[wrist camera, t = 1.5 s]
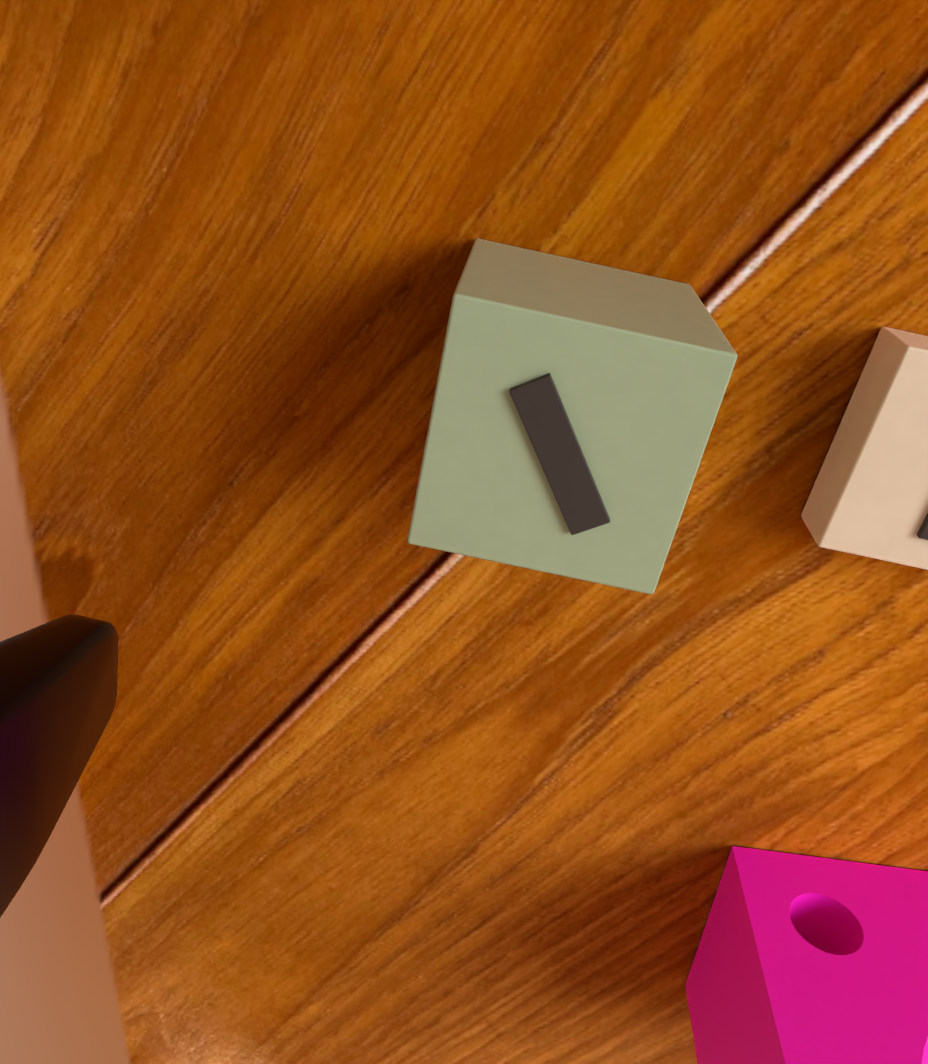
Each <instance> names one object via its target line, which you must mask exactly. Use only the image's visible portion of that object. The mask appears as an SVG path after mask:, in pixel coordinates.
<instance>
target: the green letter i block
mask: <svg viewBox="0 0 928 1064" xmlns="http://www.w3.org/2000/svg"><path fill="white" fill-rule="evenodd" d="M736 360H737V353H736V352H735V350H734V349H733V347H732V346H731V345H730V343H729V342H728V340H727V339H726V337H725V336H724V334H723V333H722V331H721V330H720V328H719V327H718V325H717V324H716V322H715V321H714V319H713V318H712V316H711V315H710V314H709V312H708V311H707V309H706V308H705V306H704V305H703V303H702V302H701V300H700V299H699V297H698V296H697V294H696V293H695V291H694V290H693V288H692V287H691V285H689V284H686V283H681V282H676V281H672V280H667V279H662V278H658V277H653V276H649V275H644V274H639V273H635V272H630V271H626V270H621V269H616V268H612V267H607V266H603V265H598V264H593V263H589V262H584V261H580V260H575V259H570V258H566V257H561V256H557V255H552V254H547V253H543V252H538V251H534V250H529V249H524V248H520V247H515V246H510V245H506V244H501V243H497V242H492V241H487V240H483V239H476V240H475V242H474V244H473V247H472V249H471V252H470V254H469V257H468V259H467V262H466V264H465V267H464V269H463V272H462V274H461V277H460V279H459V282H458V284H457V287H456V289H455V292H454V294H453V298H452V304H451V309H450V314H449V320H448V325H447V330H446V336H445V341H444V346H443V352H442V357H441V362H440V368H439V373H438V378H437V384H436V389H435V395H434V400H433V405H432V411H431V416H430V421H429V427H428V432H427V437H426V443H425V448H424V453H423V459H422V464H421V469H420V475H419V480H418V486H417V491H416V496H415V502H414V507H413V512H412V518H411V523H410V528H409V534H408V539H407V541H408V543H409V544H413V545H418V546H423V547H428V548H432V549H437V550H442V551H447V552H452V553H456V554H461V555H466V556H471V557H475V558H480V559H485V560H490V561H494V562H499V563H504V564H509V565H514V566H518V567H523V568H528V569H533V570H537V571H542V572H547V573H552V574H557V575H561V576H566V577H571V578H576V579H580V580H585V581H590V582H595V583H599V584H604V585H609V586H614V587H619V588H623V589H628V590H633V591H638V592H642V593H647V594H653V593H654V591H655V589H656V586H657V583H658V580H659V577H660V574H661V572H662V569H663V566H664V563H665V560H666V558H667V555H668V552H669V549H670V546H671V543H672V541H673V538H674V535H675V532H676V529H677V526H678V524H679V521H680V518H681V515H682V512H683V510H684V507H685V504H686V501H687V498H688V495H689V493H690V490H691V487H692V484H693V481H694V478H695V476H696V473H697V470H698V467H699V464H700V461H701V459H702V456H703V453H704V450H705V447H706V445H707V442H708V439H709V436H710V433H711V430H712V428H713V425H714V422H715V419H716V416H717V413H718V411H719V408H720V405H721V402H722V399H723V397H724V394H725V391H726V388H727V385H728V382H729V380H730V377H731V374H732V371H733V368H734V365H735V363H736Z"/></svg>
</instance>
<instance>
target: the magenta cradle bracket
mask: <svg viewBox="0 0 928 1064" xmlns="http://www.w3.org/2000/svg"><path fill="white" fill-rule="evenodd" d="M685 985H686V992H687V998H688V1005H689V1011H690V1018H691V1024H692V1030H693V1037H694V1043H695V1050H696V1056H697V1062H698V1064H928V871H921V870H913V869H906V868H898V867H890V866H883V865H875V864H867V863H859V862H852V861H844V860H836V859H829V858H821V857H813V856H805V855H798V854H790V853H782V852H775V851H767V850H759V849H752V848H744V847H736V846H732V848H731V851H730V854H729V857H728V860H727V863H726V866H725V869H724V872H723V875H722V878H721V881H720V883H719V886H718V889H717V892H716V895H715V898H714V901H713V904H712V907H711V910H710V913H709V916H708V919H707V922H706V925H705V928H704V931H703V934H702V937H701V940H700V943H699V946H698V949H697V952H696V955H695V958H694V960H693V963H692V966H691V969H690V972H689V975H688V978H687V981H686V984H685Z"/></svg>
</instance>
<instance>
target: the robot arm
mask: <svg viewBox="0 0 928 1064" xmlns="http://www.w3.org/2000/svg"><path fill="white" fill-rule="evenodd" d="M117 666H118V635H117V631H116V628H115V627H114V626H113V625H112V624H111V623H109V622H106V621H102V620H98V619H93V618H89V617H85V616H81V615H74V614H71V615H66V616H63V617H60V618H58V619H55V620H53V621H50V622H48V623H46V624H43V625H41V626H38V627H36V628H33V629H31V630H29V631H26V632H24V633H21V634H19V635H16V636H14V637H12V638H9V639H6V640H4V641H2V642H0V917H1V916H2V914H3V913H4V911H5V910H6V908H7V907H8V905H9V903H10V902H11V901H12V899H13V898H14V896H15V894H16V893H17V892H18V890H19V889H20V887H21V885H22V884H23V882H24V880H25V879H26V877H27V876H28V874H29V872H30V871H31V869H32V868H33V866H34V864H35V863H36V861H37V859H38V857H39V855H40V853H41V852H42V850H43V848H44V846H45V844H46V842H47V841H48V839H49V837H50V835H51V833H52V831H53V829H54V827H55V825H56V823H57V821H58V819H59V817H60V815H61V813H62V811H63V809H64V807H65V805H66V803H67V801H68V799H69V797H70V796H71V794H72V792H73V790H74V788H75V786H76V784H77V782H78V780H79V778H80V776H81V774H82V772H83V770H84V768H85V766H86V764H87V762H88V760H89V758H90V757H91V755H92V753H93V751H94V749H95V747H96V745H97V743H98V741H99V739H100V737H101V735H102V733H103V731H104V729H105V727H106V725H107V723H108V721H109V719H110V717H111V715H112V712H113V709H114V706H115V702H116V696H117Z"/></svg>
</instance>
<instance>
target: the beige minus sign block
mask: <svg viewBox="0 0 928 1064" xmlns="http://www.w3.org/2000/svg"><path fill="white" fill-rule="evenodd" d="M801 517H802V519H803V521H804V523H805V524H806V526H807V528H808V530H809V531H810V533H811V535H812V537H813V538H814V540H815V542H816V544H817V545H818V546H819V547H822V548H827V549H831V550H836V551H841V552H846V553H850V554H855V555H860V556H865V557H869V558H874V559H879V560H883V561H888V562H893V563H898V564H902V565H907V566H912V567H917V568H921V569H926V570H928V336H925V335H920V334H916V333H911V332H906V331H902V330H897V329H893V328H888V327H882V328H881V329H880V332H879V334H878V336H877V339H876V341H875V343H874V346H873V348H872V350H871V353H870V355H869V357H868V360H867V362H866V364H865V367H864V369H863V371H862V374H861V376H860V378H859V381H858V383H857V385H856V388H855V390H854V392H853V395H852V397H851V399H850V402H849V404H848V406H847V409H846V411H845V414H844V416H843V418H842V421H841V423H840V425H839V428H838V430H837V432H836V435H835V437H834V439H833V442H832V444H831V446H830V449H829V451H828V453H827V456H826V458H825V460H824V463H823V465H822V467H821V470H820V472H819V474H818V477H817V479H816V481H815V484H814V486H813V488H812V491H811V493H810V495H809V498H808V500H807V502H806V505H805V507H804V509H803V512H802V514H801Z"/></svg>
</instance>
